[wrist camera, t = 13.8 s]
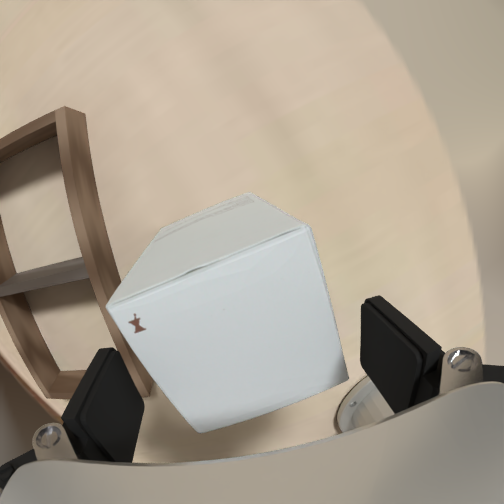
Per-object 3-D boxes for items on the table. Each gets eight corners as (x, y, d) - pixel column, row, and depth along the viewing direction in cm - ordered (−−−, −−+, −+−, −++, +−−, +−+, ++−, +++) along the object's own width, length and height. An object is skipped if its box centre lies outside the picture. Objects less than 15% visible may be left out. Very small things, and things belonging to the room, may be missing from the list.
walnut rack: (155, 370, 24) (149, 396, 20) (58, 377, 23) (46, 398, 20) (85, 113, 17) (64, 106, 14) (-14, 161, 16) (-38, 164, 13)
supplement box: (198, 311, 23) (193, 438, 11) (158, 226, 20) (95, 303, 8) (285, 278, 23) (353, 384, 11) (253, 188, 21) (311, 218, 9)
